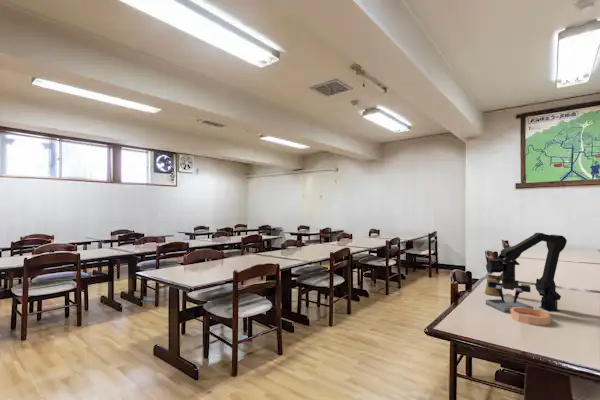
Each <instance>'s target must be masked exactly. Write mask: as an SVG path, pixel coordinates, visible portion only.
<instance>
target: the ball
mask: <svg viewBox="0 0 600 400" xmlns="http://www.w3.org/2000/svg"><path fill="white" fill-rule="evenodd" d="M514 298H515V296H513V294H510V293H505V294H503V299H504V301H505V302H506V303H509V304H510V303H513V302H514Z"/></svg>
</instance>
